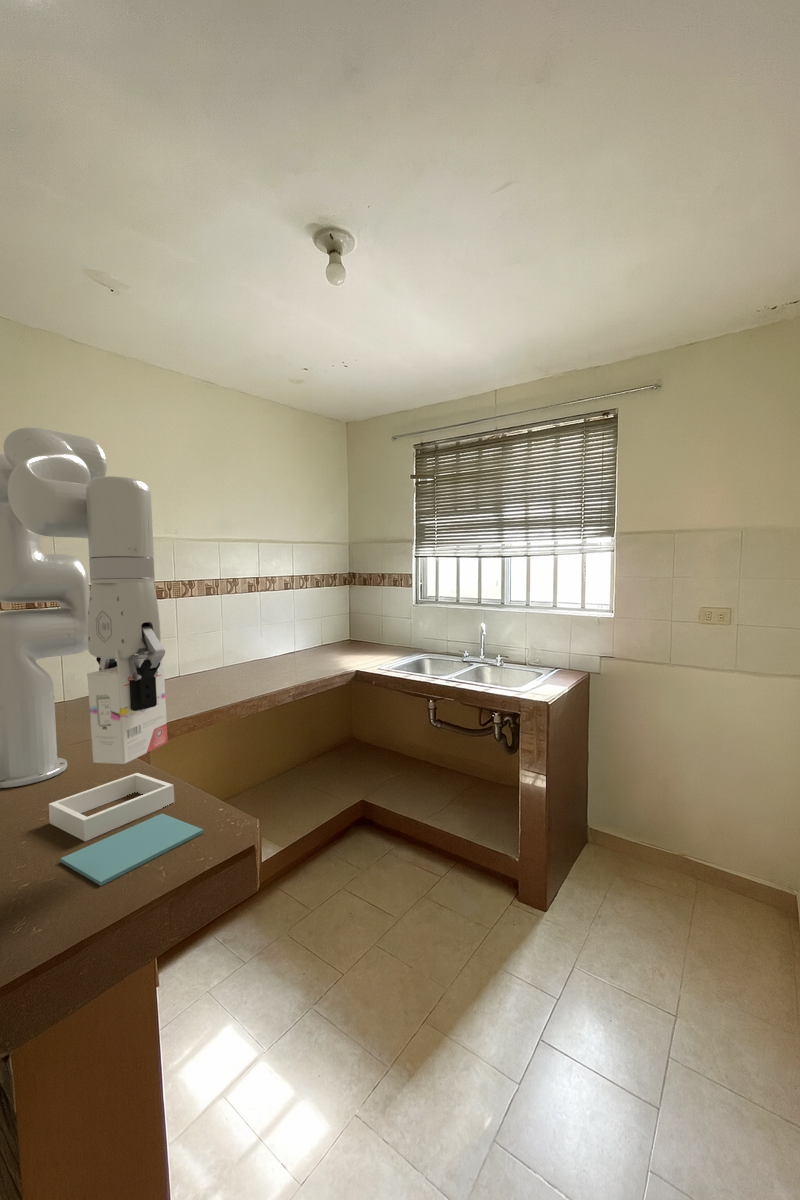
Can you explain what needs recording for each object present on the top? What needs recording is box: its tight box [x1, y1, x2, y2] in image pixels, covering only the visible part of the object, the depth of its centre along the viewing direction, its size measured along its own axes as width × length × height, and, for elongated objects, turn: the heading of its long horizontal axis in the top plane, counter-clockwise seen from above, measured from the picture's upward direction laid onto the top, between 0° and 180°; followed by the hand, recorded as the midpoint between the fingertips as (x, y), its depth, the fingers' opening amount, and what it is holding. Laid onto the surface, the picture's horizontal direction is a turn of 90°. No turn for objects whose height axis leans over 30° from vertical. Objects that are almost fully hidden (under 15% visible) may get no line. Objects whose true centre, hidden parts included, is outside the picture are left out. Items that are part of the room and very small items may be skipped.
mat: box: [60, 813, 204, 887], centre depth 66 cm, size 10×14×1 cm
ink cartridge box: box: [86, 649, 169, 765], centre depth 66 cm, size 9×5×15 cm, turn 168°
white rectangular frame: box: [48, 772, 175, 842], centre depth 77 cm, size 11×14×3 cm
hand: (129, 704), depth 66 cm, fingers closed on ink cartridge box, 6 cm apart
